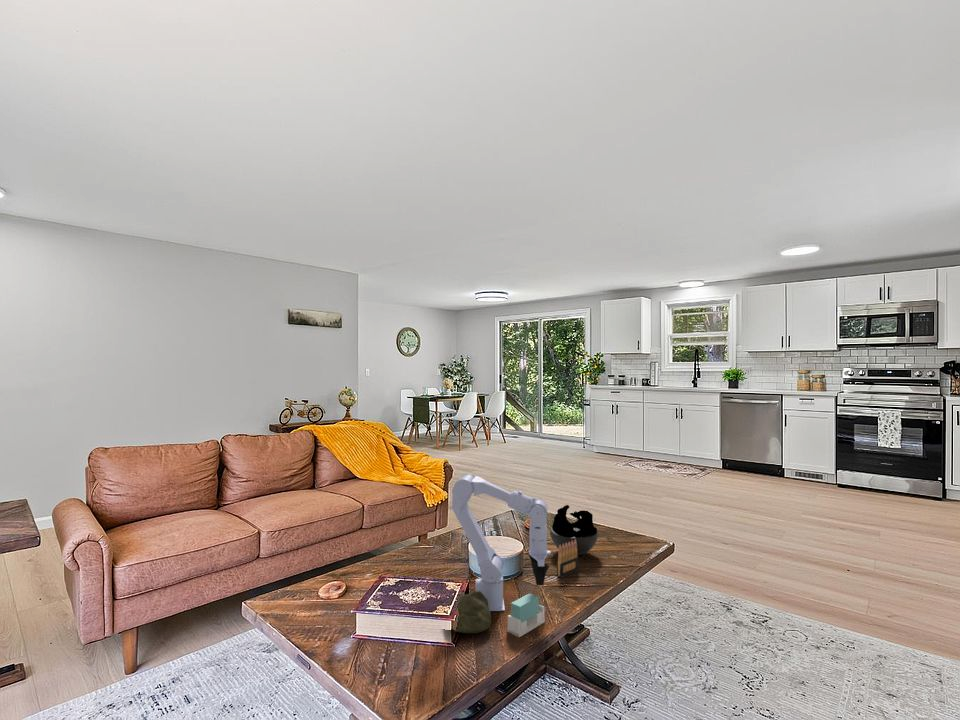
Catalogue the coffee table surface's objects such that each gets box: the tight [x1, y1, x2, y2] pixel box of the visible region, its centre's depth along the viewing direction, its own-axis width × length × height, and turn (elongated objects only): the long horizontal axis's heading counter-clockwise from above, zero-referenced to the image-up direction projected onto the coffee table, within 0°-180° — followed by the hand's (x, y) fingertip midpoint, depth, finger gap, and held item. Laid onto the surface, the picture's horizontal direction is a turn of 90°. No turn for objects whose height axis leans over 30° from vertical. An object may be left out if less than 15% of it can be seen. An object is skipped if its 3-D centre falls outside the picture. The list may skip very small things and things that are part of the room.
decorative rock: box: [455, 591, 492, 634], centre depth 159 cm, size 15×16×10 cm
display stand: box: [506, 604, 546, 638], centre depth 159 cm, size 12×5×5 cm, turn 136°
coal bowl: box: [549, 504, 599, 557], centre depth 217 cm, size 20×20×19 cm
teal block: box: [510, 593, 540, 623], centre depth 158 cm, size 9×4×5 cm, turn 136°
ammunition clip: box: [556, 539, 579, 578], centre depth 198 cm, size 11×2×12 cm, turn 130°
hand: (538, 579), depth 169 cm, fingers open, 7 cm apart
